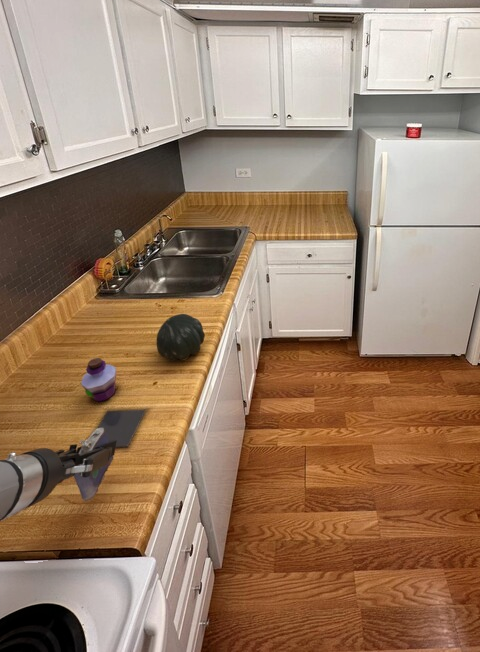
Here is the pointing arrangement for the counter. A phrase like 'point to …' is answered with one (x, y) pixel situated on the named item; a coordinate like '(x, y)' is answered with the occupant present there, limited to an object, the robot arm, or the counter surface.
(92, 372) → the potion bottle
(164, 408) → the counter surface
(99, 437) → the flask
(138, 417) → the slate coaster
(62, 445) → the counter surface
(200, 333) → the squash
